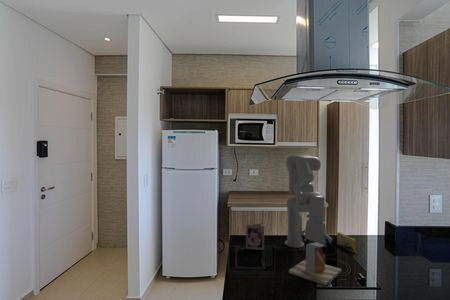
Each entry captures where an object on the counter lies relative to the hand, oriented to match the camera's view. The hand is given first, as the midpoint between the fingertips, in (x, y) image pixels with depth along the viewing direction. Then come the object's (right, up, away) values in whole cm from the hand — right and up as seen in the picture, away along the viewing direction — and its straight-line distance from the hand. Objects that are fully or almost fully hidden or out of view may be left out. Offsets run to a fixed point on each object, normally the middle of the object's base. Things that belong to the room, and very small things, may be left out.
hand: (315, 250), depth 151 cm
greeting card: (-28, -10, +35) cm, 46 cm away
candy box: (+31, -11, +36) cm, 49 cm away
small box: (0, -10, 0) cm, 10 cm away
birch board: (0, -11, 0) cm, 11 cm away
